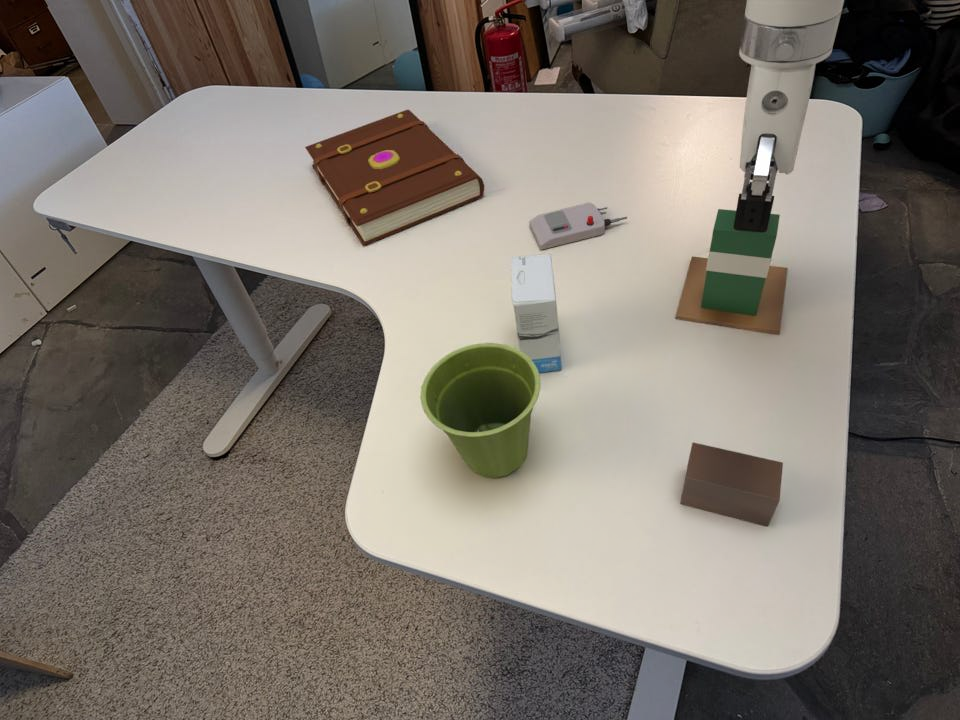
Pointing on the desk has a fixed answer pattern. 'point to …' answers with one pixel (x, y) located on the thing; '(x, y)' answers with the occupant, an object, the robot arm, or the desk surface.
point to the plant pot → (484, 404)
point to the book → (392, 175)
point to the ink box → (536, 310)
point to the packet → (737, 265)
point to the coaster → (762, 322)
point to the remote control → (569, 225)
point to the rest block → (732, 484)
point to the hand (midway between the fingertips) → (754, 203)
